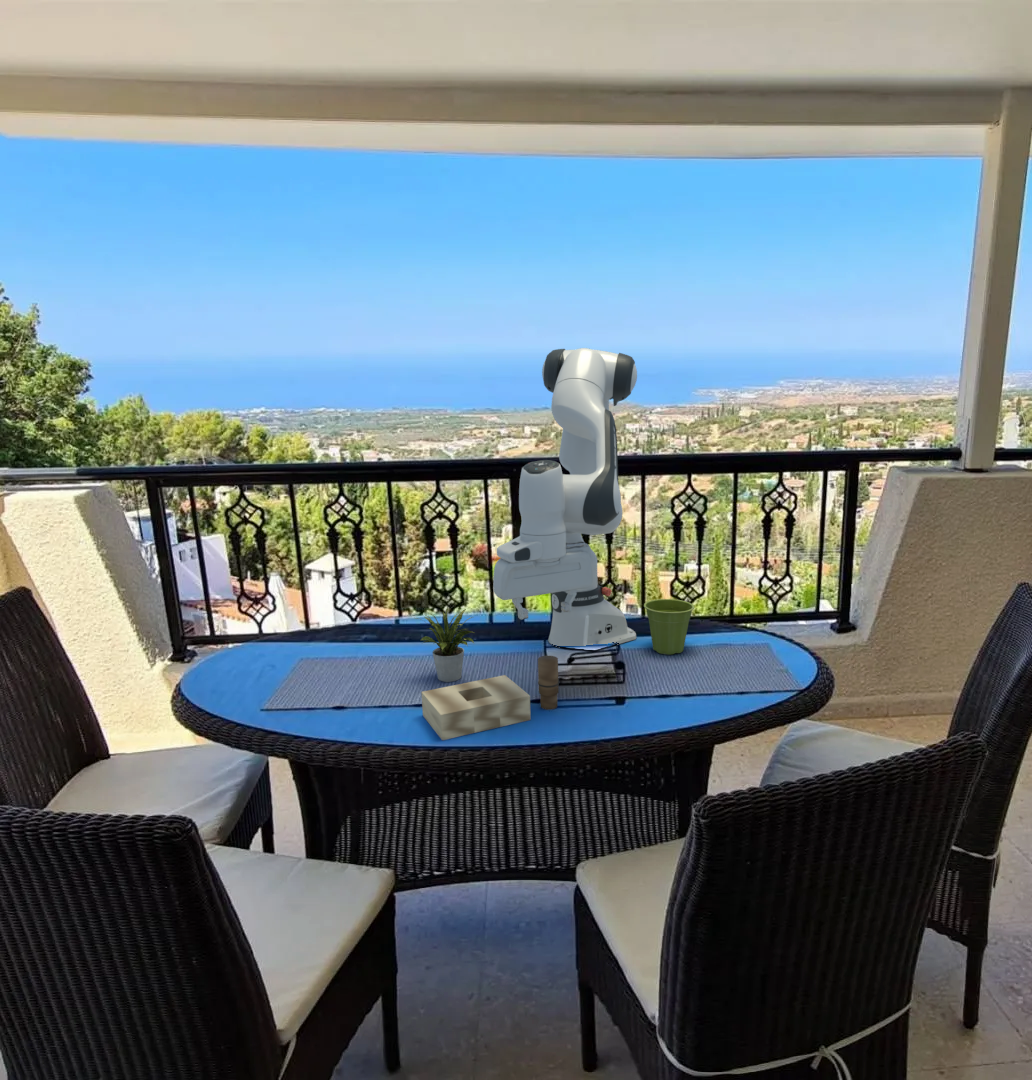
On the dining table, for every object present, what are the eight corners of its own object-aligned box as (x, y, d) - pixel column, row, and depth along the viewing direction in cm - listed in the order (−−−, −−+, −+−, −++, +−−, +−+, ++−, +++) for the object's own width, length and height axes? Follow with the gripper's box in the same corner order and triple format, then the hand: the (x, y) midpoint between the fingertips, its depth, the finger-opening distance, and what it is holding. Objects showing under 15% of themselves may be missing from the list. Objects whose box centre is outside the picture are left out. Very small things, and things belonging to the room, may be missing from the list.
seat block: (505, 697, 152) (505, 675, 151) (530, 719, 141) (529, 695, 140) (422, 715, 145) (421, 691, 144) (442, 740, 134) (440, 714, 133)
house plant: (417, 695, 154) (412, 621, 151) (408, 672, 168) (404, 604, 164) (482, 686, 158) (479, 614, 155) (469, 664, 171) (466, 597, 168)
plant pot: (698, 658, 170) (699, 611, 168) (647, 659, 171) (647, 613, 168) (688, 641, 182) (688, 597, 180) (640, 642, 182) (640, 599, 180)
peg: (553, 700, 150) (552, 654, 148) (563, 707, 146) (562, 660, 144) (535, 704, 148) (533, 657, 146) (544, 712, 144) (543, 664, 142)
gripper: (582, 537, 147) (583, 603, 150) (488, 549, 139) (491, 618, 142) (598, 542, 142) (599, 611, 144) (501, 555, 134) (504, 627, 136)
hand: (545, 614), depth 143 cm, fingers open, 8 cm apart
